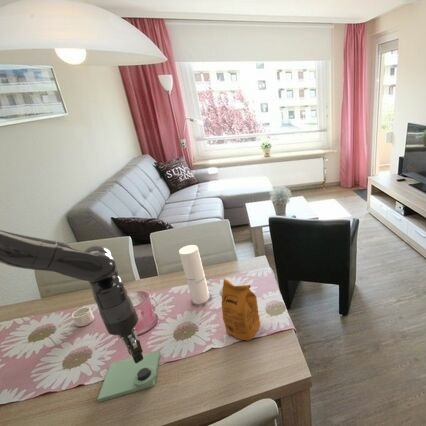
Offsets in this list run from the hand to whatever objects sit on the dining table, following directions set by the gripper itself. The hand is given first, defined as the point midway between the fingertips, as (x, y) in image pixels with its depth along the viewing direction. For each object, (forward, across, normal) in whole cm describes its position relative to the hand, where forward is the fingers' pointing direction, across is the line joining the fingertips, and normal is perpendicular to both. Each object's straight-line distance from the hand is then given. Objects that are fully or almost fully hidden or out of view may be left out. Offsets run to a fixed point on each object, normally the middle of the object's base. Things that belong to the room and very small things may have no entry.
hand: (136, 356), depth 88 cm
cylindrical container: (+11, -24, +31) cm, 41 cm away
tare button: (+9, 0, 0) cm, 9 cm away
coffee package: (+11, +6, +32) cm, 35 cm away
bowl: (+11, -47, -6) cm, 49 cm away
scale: (+11, -6, -2) cm, 13 cm away
